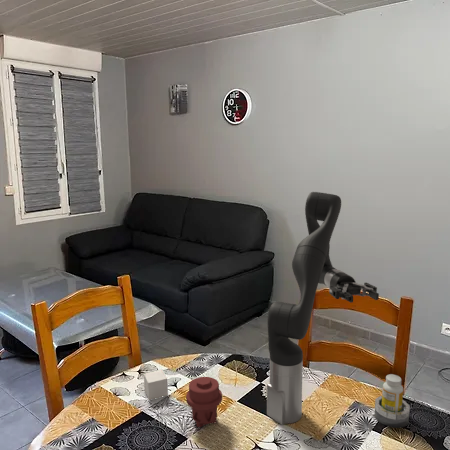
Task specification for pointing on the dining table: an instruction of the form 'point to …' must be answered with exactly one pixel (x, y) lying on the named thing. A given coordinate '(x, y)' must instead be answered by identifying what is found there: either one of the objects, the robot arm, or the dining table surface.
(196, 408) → the mechanical component
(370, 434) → the dining table surface
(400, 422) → the collar
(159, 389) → the grey cube
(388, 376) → the supplement bottle
